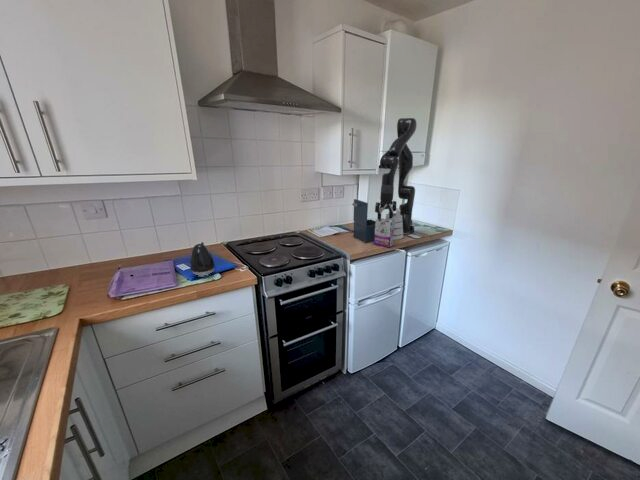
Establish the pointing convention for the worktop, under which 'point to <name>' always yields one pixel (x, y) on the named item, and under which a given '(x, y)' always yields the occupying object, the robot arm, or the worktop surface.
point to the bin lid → (360, 212)
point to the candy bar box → (384, 232)
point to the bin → (365, 231)
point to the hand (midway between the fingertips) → (385, 218)
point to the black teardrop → (201, 261)
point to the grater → (397, 224)
